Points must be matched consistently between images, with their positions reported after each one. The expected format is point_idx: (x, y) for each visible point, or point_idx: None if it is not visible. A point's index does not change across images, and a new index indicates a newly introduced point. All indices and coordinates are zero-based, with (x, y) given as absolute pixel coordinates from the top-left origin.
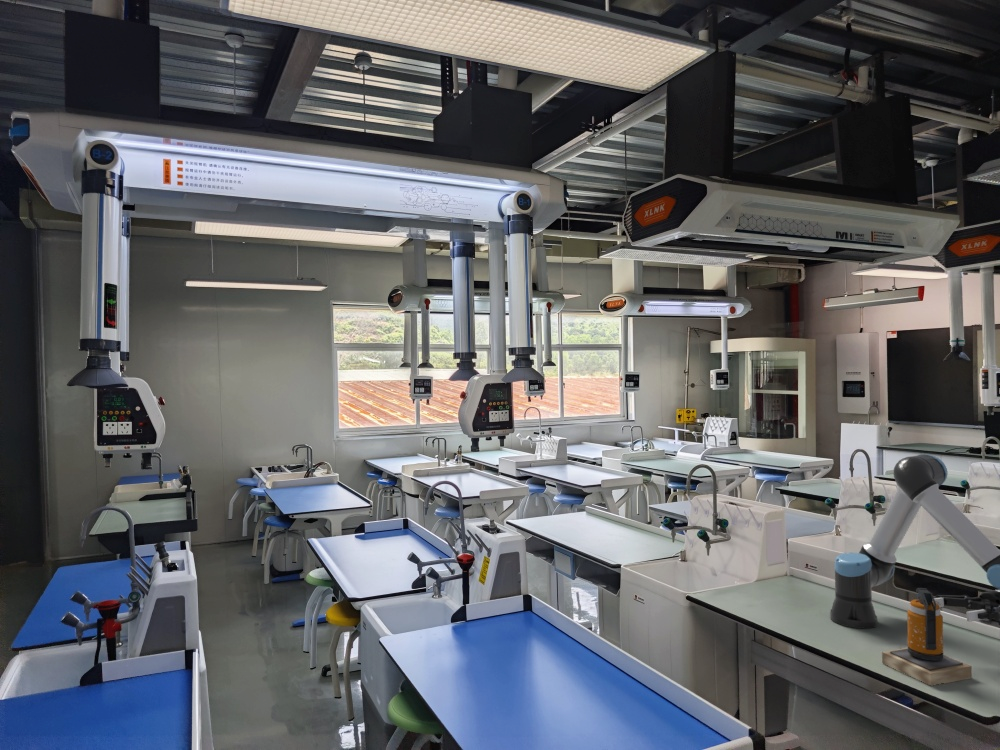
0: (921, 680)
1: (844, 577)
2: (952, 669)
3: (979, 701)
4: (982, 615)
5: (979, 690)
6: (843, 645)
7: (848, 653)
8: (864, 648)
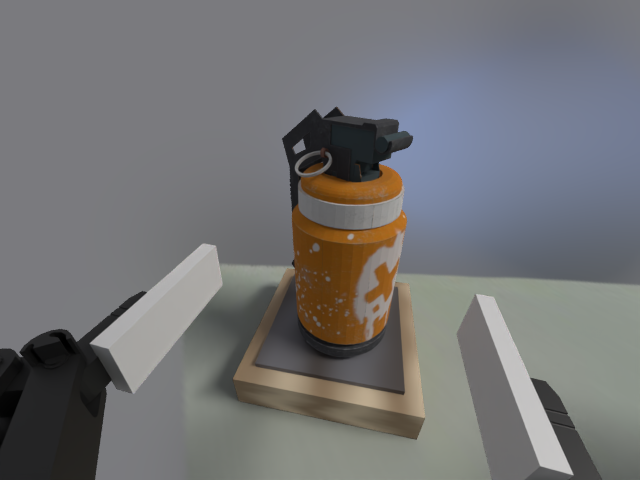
0: None
1: None
2: (264, 315)
3: None
4: (133, 301)
5: (208, 341)
6: (527, 321)
7: (471, 295)
8: None
